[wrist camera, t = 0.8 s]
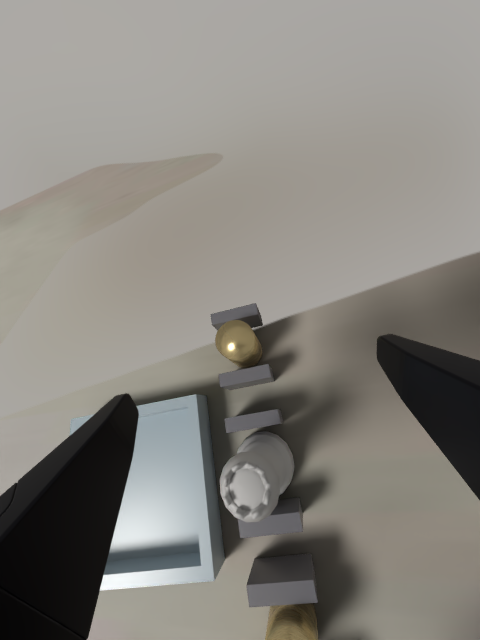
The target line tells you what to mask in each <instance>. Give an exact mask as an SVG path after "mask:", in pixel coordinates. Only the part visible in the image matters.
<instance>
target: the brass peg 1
mask: <svg viewBox="0 0 480 640" xmlns="http://www.w3.org/2000/svg"><path fill="white" fill-rule="evenodd" d="M215 342H216V347H217V349H218V351H219V352H220V353H221V354H222V355H223V356H225V357H226V358H227V359H229V360H230V361H232V362H233V363H234V364H236V365H237V366H239V367H242V368H250V367H252V366H254V365H256V364H257V363H258V362H259V361H260V359H261V356H262V346H261V344H260V342H259V340H258V339H257V337H256V335H255V334H254V332H253V330H252V329H251V327H250V326H249V325H248V324H247V323H245V322H244V321H240V320H231V321H228V322H226V323H225V324H223V325H222V326H221V327H220V328H219V330H218V332H217V334H216V339H215Z"/></svg>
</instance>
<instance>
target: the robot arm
mask: <svg viewBox="0 0 480 640" xmlns="http://www.w3.org/2000/svg"><path fill="white" fill-rule="evenodd" d="M377 360H378V362H379V364H380V365H381V367H382V369H383V370H384V372H385V374H386V375H387V377H388V379H389V380H390V382H391V383H392V385H393V387H394V388H395V390H396V392H397V393H398V395H399V396H400V398H401V399H402V401H403V402H404V403H405V405H406V406H407V407H408V409H409V410H410V411H411V412H412V414H413V415H414V416H415V418H416V419H417V420H418V421H419V423H420V424H421V425H422V427H423V428H424V429H425V430H426V432H427V433H428V434H429V436H430V437H431V438H432V439H433V441H434V442H435V443H436V445H437V446H438V447H439V448H440V450H441V451H442V452H443V454H444V455H445V456H446V457H447V459H448V460H449V461H450V463H451V464H452V465H453V466H454V468H455V469H456V470H457V472H458V473H459V474H460V475H461V477H462V478H463V479H464V481H465V482H466V483H467V484H468V486H469V487H470V488H471V490H472V491H473V492H474V493H475V495H476V496H477V497H478V499H479V500H480V361H479V360H476V359H472V358H469V357H466V356H462V355H459V354H456V353H452V352H449V351H446V350H443V349H439V348H436V347H433V346H429V345H426V344H423V343H419V342H416V341H413V340H409V339H406V338H403V337H400V336H396V335H393V334H387V335H382V336H379V337H378V338H377ZM138 418H139V411H138V408H137V407H136V405H135V403H134V401H133V400H132V398H131V396H130V395H129V394H127V393H126V394H121V395H117V396H115V397H114V398H113V399H112V400H111V401H109V402H108V403H107V404H106V405H105V406H104V407H102V408H101V409H100V410H99V411H98V412H97V413H96V414H94V415H93V416H92V417H91V418H90V419H89V420H88V421H86V422H85V423H84V424H83V425H82V426H81V427H79V428H78V429H77V430H76V431H75V432H74V433H73V434H71V435H70V436H69V437H68V438H67V439H66V440H64V441H63V442H62V443H61V444H60V445H59V446H58V447H56V448H55V449H54V450H53V451H52V452H51V453H50V454H48V455H47V456H46V457H45V458H44V459H43V460H41V461H40V462H39V463H38V464H37V465H36V466H35V467H33V468H32V469H31V470H30V471H29V472H28V473H26V474H25V475H24V476H23V477H22V478H21V479H20V480H19V481H18V483H15V484H14V485H13V486H11V487H10V488H9V489H8V490H7V491H6V492H5V493H3V494H2V495H1V496H0V640H87V638H88V636H89V632H90V628H91V624H92V619H93V615H94V611H95V607H96V603H97V599H98V595H99V591H100V587H101V583H102V579H103V575H104V571H105V567H106V563H107V559H108V555H109V551H110V547H111V543H112V539H113V535H114V531H115V527H116V523H117V519H118V515H119V511H120V507H121V503H122V499H123V495H124V491H125V487H126V483H127V479H128V475H129V471H130V467H131V462H132V458H133V453H134V446H135V439H136V432H137V425H138Z"/></svg>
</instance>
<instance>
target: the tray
mask: <svg viewBox="0 0 480 640" xmlns="http://www.w3.org/2000/svg"><path fill="white" fill-rule="evenodd" d="M136 407H137V408H138V411H139V418H138V425H137V432H136V439H135V446H134V453H133V458H132V462H131V467H130V471H129V475H128V479H127V483H126V487H125V491H124V495H123V499H122V503H121V507H120V511H119V515H118V519H117V523H116V527H115V531H114V535H113V539H112V543H111V547H110V551H109V555H108V559H107V563H106V567H105V571H104V575H103V579H102V583H101V587H100V590H112V589H124V588H136V587H148V586H160V585H171V584H183V583H195V582H207V581H214V580H215V578H216V577H217V575H218V573H219V571H220V569H221V567H222V565H223V563H224V561H225V556H224V547H223V538H222V529H221V520H220V511H219V502H218V493H217V484H216V475H215V466H214V457H213V448H212V439H211V430H210V421H209V412H208V403H207V396H205V395H198V394H194V395H189V396H184V397H179V398H174V399H169V400H164V401H159V402H154V403H149V404H144V405H139V406H136ZM92 416H93V415H89V416H84V417H79V418H74V419H71V425H70V435H71V434H73V433H74V432H75V431H76V430H77V429H78V428H79V427H81V426H82V425H83V424H84V423H85V422H86V421H88V420H89V419H90V418H91V417H92Z"/></svg>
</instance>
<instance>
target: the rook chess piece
mask: <svg viewBox="0 0 480 640" xmlns="http://www.w3.org/2000/svg"><path fill="white" fill-rule="evenodd" d="M294 468H295V467H294V460H293V454H292V452H291V450H290V449H289V447H288V445H287V443H286V442H285V441H284V440H283V439H281V438H280V437H279V436H278V435H276V434H273V433H270V432H267V431H264V432H256V433H254V434H252V435H250V436H249V437H247V438H246V439H245V440H244V441H243V443H242V444H241V446H240V447H239V448H238V451H237V454H236V455H235V456H233V457H231V458H230V459H229V461H228V462H227V463H226V465H225V466H224V467H223V470H222V474H221V477H220V494H221V496H222V499H223V501H224V504H225V506H226V508H227V509H228V510H229V511H230V512H231V513H232V514H233V516H234V517H236V518H238V519H240V520H242V521H245V522H259V521H261V520H263V519H265V518H266V517H268V516H270V514H271V513H272V511H273V510H274V509H275V507H276V506H277V503H278V499H279V495H280V494H282V493H284V491H285V490H286V488H287V487H288V485H289V484H290V483H291V481H292V477H293V472H294Z"/></svg>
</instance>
